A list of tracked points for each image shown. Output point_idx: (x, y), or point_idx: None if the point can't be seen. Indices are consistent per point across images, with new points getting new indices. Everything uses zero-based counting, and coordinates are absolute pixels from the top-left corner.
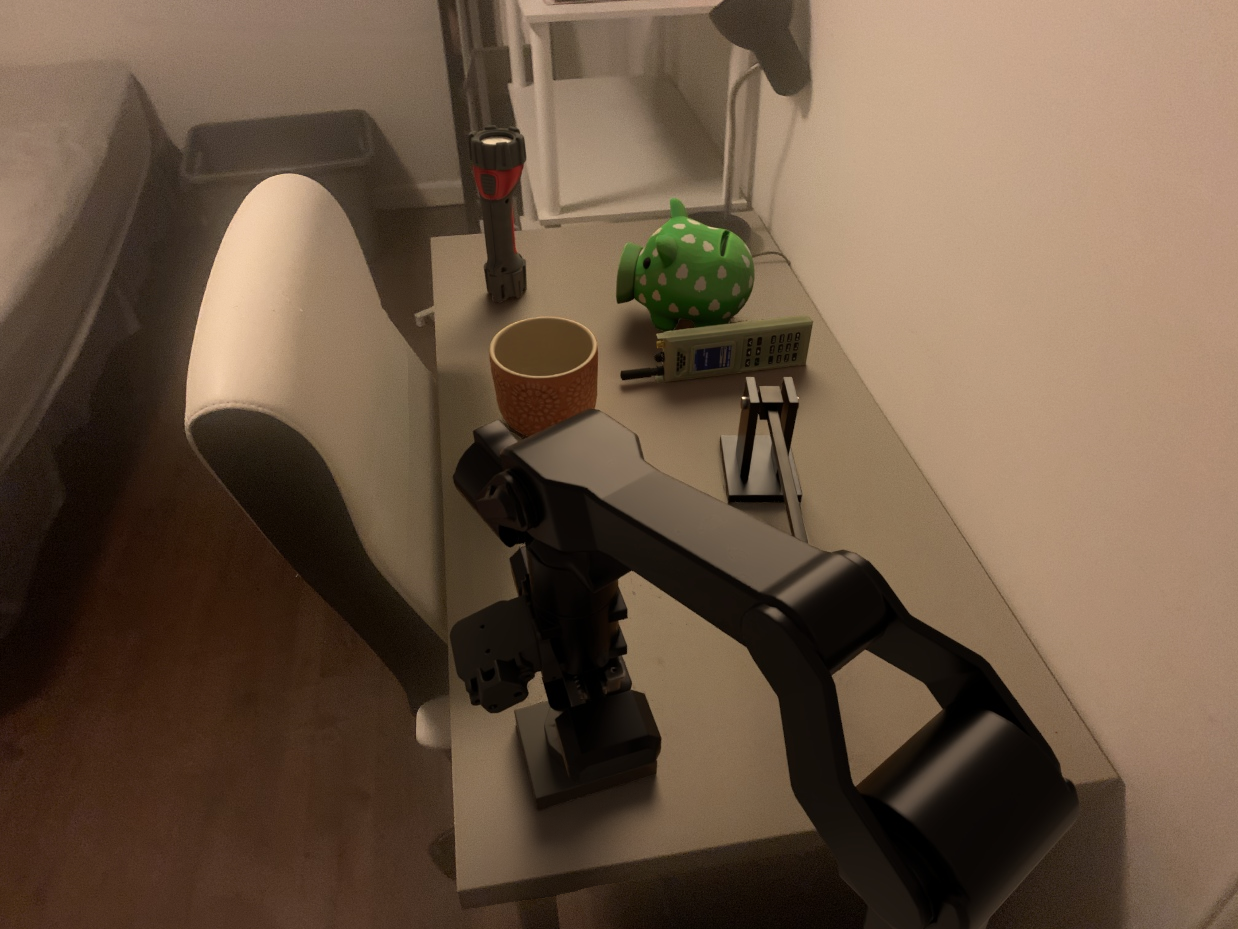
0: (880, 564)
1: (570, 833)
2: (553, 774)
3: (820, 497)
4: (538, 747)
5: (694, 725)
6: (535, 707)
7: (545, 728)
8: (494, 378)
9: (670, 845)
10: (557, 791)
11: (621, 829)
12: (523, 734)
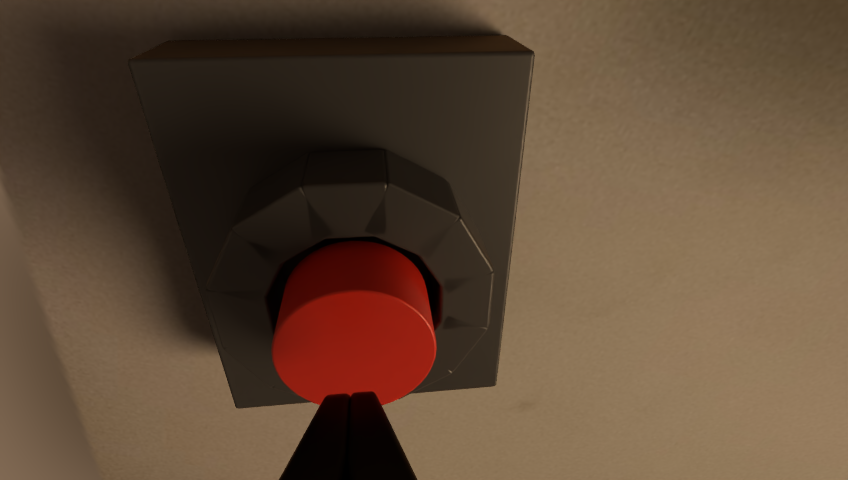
0: None
1: (89, 130)
2: (227, 147)
3: None
4: (349, 115)
5: None
6: (511, 136)
7: (373, 186)
8: None
9: (65, 349)
10: (156, 148)
11: (105, 261)
12: (418, 68)
